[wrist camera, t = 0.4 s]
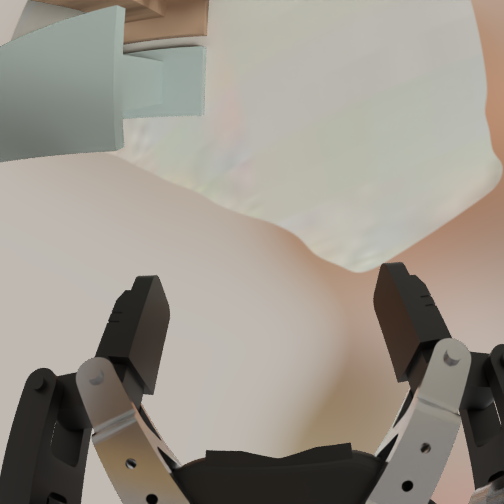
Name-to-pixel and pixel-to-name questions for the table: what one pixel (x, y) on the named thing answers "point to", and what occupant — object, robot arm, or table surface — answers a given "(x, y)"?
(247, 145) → the table surface
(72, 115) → the slate pedestal
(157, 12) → the walnut stand
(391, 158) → the table surface
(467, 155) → the table surface
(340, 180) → the table surface
